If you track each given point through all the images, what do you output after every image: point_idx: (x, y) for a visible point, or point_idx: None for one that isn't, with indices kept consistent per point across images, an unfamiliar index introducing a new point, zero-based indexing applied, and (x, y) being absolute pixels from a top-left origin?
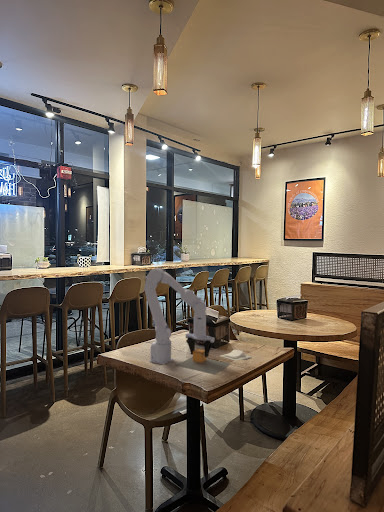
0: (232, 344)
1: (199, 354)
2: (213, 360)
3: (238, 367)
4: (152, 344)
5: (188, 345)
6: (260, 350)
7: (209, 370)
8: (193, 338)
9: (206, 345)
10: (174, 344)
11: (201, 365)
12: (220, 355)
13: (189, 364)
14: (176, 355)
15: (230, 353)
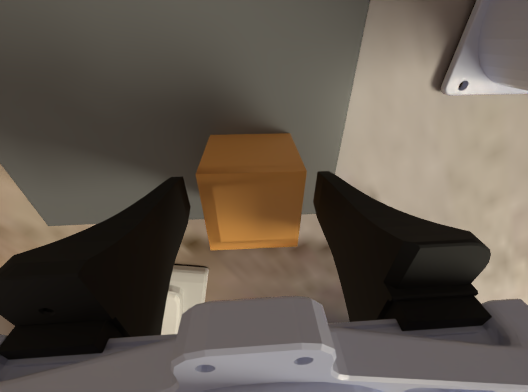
0: None
1: (220, 163)
2: None
3: (7, 217)
4: None
5: (393, 208)
6: None
7: None
8: (374, 328)
9: (56, 248)
10: (481, 293)
11: (156, 69)
12: (201, 283)
13: (264, 21)
14: (446, 189)
15: (169, 313)
